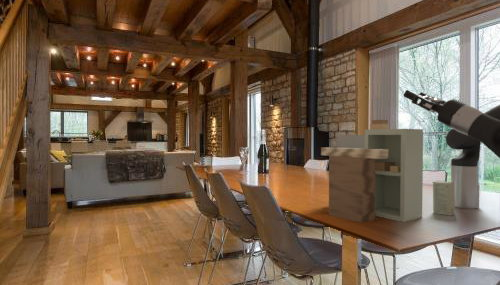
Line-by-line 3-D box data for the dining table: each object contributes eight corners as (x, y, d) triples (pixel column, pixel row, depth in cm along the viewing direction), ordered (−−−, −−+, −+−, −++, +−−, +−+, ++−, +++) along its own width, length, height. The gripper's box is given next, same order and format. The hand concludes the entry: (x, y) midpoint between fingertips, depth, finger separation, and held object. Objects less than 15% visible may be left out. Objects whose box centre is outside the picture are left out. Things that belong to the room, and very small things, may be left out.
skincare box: (454, 214, 123) (455, 182, 123) (449, 216, 121) (450, 183, 120) (437, 211, 128) (437, 180, 128) (432, 212, 126) (432, 181, 125)
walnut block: (342, 211, 127) (343, 155, 126) (374, 219, 115) (375, 157, 115) (328, 214, 122) (329, 156, 122) (360, 222, 111) (361, 158, 110)
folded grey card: (369, 204, 141) (370, 135, 140) (373, 207, 135) (373, 135, 135) (336, 203, 142) (336, 135, 142) (338, 206, 137) (338, 135, 136)
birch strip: (321, 155, 128) (321, 147, 128) (328, 154, 130) (328, 147, 130) (381, 158, 106) (381, 149, 106) (388, 158, 109) (388, 149, 109)
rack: (382, 209, 131) (382, 121, 131) (422, 217, 118) (423, 119, 118) (363, 213, 125) (364, 120, 124) (404, 222, 111) (405, 118, 111)
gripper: (478, 106, 95) (429, 85, 107) (456, 103, 87) (406, 80, 98) (464, 129, 98) (418, 105, 110) (441, 128, 90) (394, 103, 102)
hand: (412, 94), depth 104 cm, fingers open, 8 cm apart
